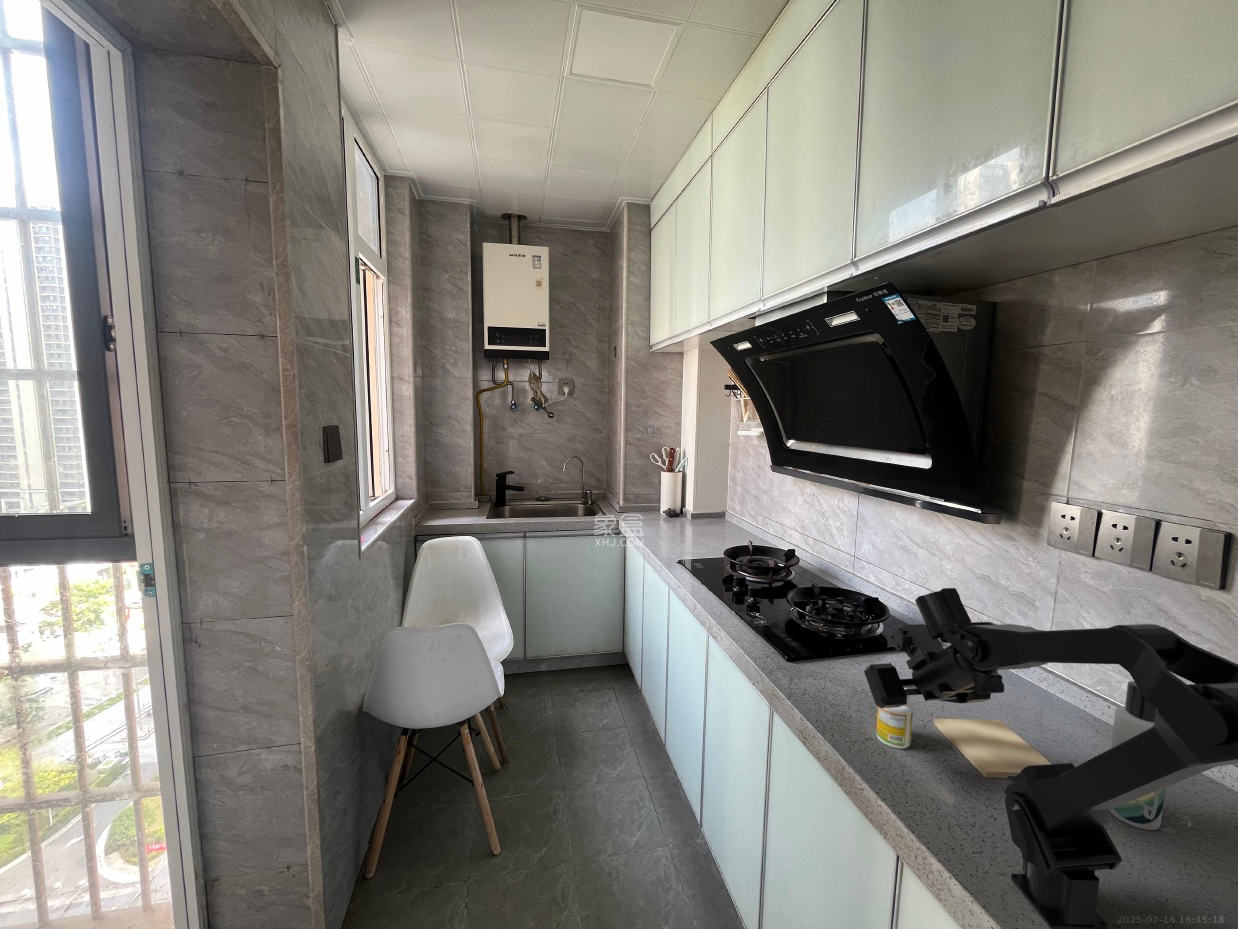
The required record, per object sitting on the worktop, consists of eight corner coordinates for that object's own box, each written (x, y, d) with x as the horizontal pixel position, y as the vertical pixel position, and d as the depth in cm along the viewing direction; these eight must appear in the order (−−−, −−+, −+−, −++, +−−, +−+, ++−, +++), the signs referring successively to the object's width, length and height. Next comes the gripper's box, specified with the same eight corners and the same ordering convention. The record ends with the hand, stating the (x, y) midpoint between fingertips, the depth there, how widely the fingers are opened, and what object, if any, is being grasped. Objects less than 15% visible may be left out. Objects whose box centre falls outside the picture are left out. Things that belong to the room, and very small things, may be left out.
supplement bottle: (891, 727, 93) (894, 677, 92) (917, 745, 88) (921, 692, 87) (869, 734, 91) (872, 683, 90) (895, 752, 86) (898, 699, 85)
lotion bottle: (1130, 830, 70) (1146, 694, 68) (1093, 799, 76) (1107, 673, 74) (1172, 832, 70) (1190, 696, 68) (1133, 801, 76) (1148, 674, 74)
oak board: (1062, 779, 80) (1063, 773, 80) (985, 777, 80) (986, 771, 80) (999, 725, 94) (999, 720, 94) (933, 723, 94) (934, 718, 94)
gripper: (983, 614, 82) (928, 647, 94) (874, 619, 79) (833, 652, 92) (1022, 687, 75) (958, 712, 87) (904, 694, 73) (856, 719, 85)
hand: (900, 696), depth 88 cm, fingers open, 9 cm apart
